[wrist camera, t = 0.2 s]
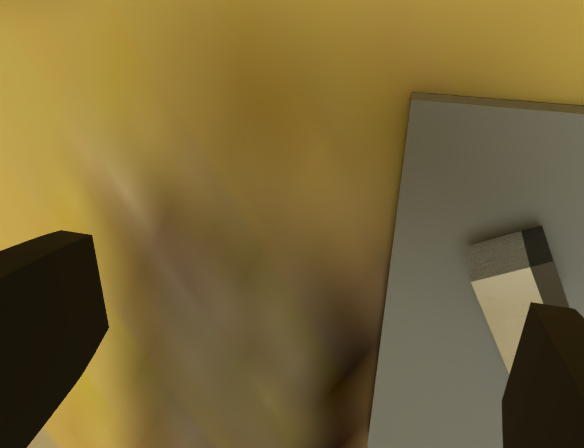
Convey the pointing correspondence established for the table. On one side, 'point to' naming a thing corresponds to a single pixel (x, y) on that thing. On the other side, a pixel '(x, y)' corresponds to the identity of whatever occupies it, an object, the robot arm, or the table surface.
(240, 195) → the table surface
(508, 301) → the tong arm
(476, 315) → the mat
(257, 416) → the table surface
